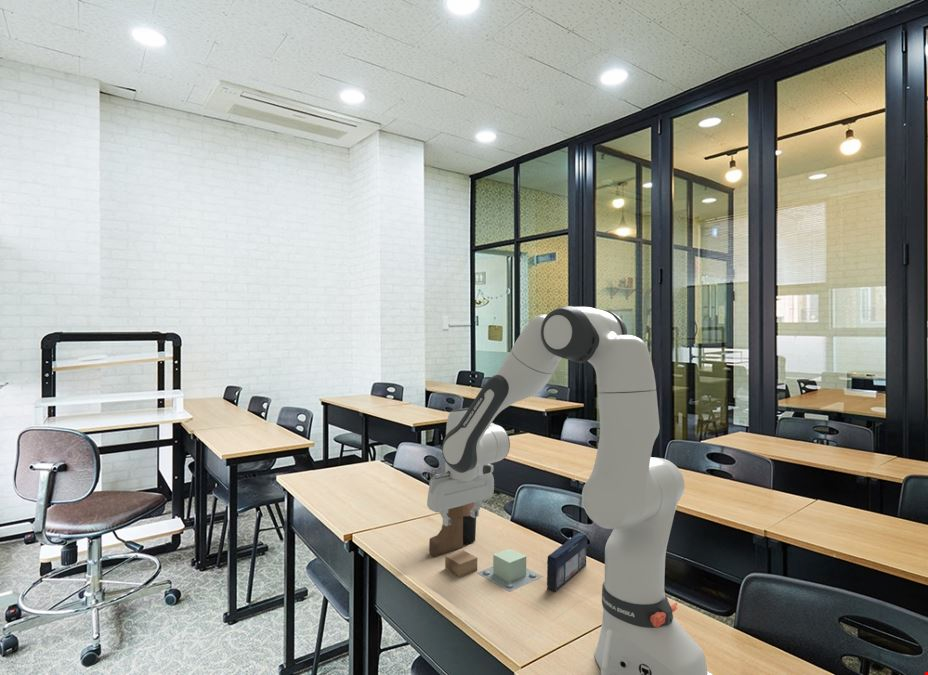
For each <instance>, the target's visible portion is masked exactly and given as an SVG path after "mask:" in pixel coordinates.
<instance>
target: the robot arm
mask: <svg viewBox="0 0 928 675" xmlns="http://www.w3.org/2000/svg"><path fill="white" fill-rule="evenodd" d="M562 359H564V360H568V361H572V362H576V363H578V364H579V363H580V364H585V363H586V362H588V363H589V364H591V366H592V368H594V371H595V374H596V375H595V376H596V384H597V385H596V386H597V398H598V411H599V413H598V415H599V439H598V445H597V452H596V457H595V460H594V464H593V469H592V471H591V473H590V475H589V477H588V478H587V480H586V482H585V484H584V486H582V492H581V499H582V500H581V501H582V505H583V508H584V511H585V513H586V514H587V516H588V518H589V519H590V520H591V521H592V522H593V523H594V524H596V525H597V526H599V527H601V528H602V529H607V530H612V532H611V534H610V536H609V537H608V538H607V541H606V544H605V548H604V581H603V583H602V585H601V586H602V587H601V589H602V590H601V604H602V608H603V612H602V620H601V621H602V622H601V627H600V634H599V638H598V642H597V645H596V647H595V651H594V658H595V662H596V663H597V665H598V667H599V669H600V675H713V673H711V672H709V671H708V666H707V661H706V656H705V653H704V651H703V649H702V648H701V646H700V645H699V644H698V643H697V642H696V641H695V640H694V638H692V637H691V636H690V634H688V632H687V631H686V630H685V629H684V627H683V626H682V625H681V624H680V623H679V622H678V621H677V620H676V619H675V617H674V614H673V613H674V612H675V611H677V609H678V607H677V606H678V602H675V603H673V604H672V605H670V602H669V600H668V597H667V594H666V591H665V574H666V573H665V572H666V570H665V568H666V553H667V546H668V543H669V538H670V534H671V531H672V526H673V522H674V517H675V513H676V510H677V506H678V504H679V502H680V500H681V499H682V496H683V495H684V492H685V479H684V476H683V474H682V473H681V471H680V468H679V467H678V466H677V465H676V464H674V463H673V462H672V461H670V460H668V459H665V458H661V457H655V456H654V457H652V452H653V446H654V444H655V441H656V439H657V438H658V437H659V436H658V435H659V434H660V428H661V427H660V416H659V415H660V414H659V406H658V405H659V404H658V395H657V393H658V392H657V385H656V384H657V383H656V378H655V377H656V376H655V372H654V367H653V362H652V358H651V354H650V352H649V347H648V346H647V343H646V342H645V341H644V340H643V339H641V338H640V337H637V336H634V335H631V334H628V329H627V326H626V324H625V321H623V319H622V318H621V317H620V316H618V315H617V314H616V313H614V312H612V311H610V310H606V309H605V310H604V309H598V308H594V307H590V306H573V305H565V306H562V307H557V308H556V309H553V310H552V311H550V312H548V314H544V313H543V314H538V315H536V316H534V317H532V318H531V320H530V321H529V322H528V323H527V324H526V326H525V327H524V328H523V330H522V331H521V332H520V335H519V336H518V337H517V339H516V341H515V342H514V344H513V346H512V347H511V350H510V351H509V353H508V355H507V356H506V358H505V360H504V361H503V362H502V364H501V365H500V367H499V368H498V369H497V371H496V372H495V373H494V374H493V375H492V376H491V377H490V378H489V380H487V382H486V383H485V384H484V385H483V387H482V388H481V389H480V390H479V391H478V394H477V395H476V396H475V398H474V400H473V401H472V403H471V404H470V406H469V407H464V408H463V407H462V408H455V409H452V410H451V411H450V412H449V413H448V416H447V419H446V426H445V427H446V429H445V437H444V439H443V441H442V447H441V448H442V449H441V450H442V451H441V452H442V457H443V459H444V461H445V466H444V472H441V473H436V474H434V475H433V476H432V477H431V479H429V483H428V484H429V486H428V492H427V498H426V499H427V500H426V505H427V508H428V509H429V510H430V511H432V512H434V513H439V515H440V516H441V518H442V524H443V525H444V526H449V525H451V518H449V517H448V516H447V514H446V513H448V509H451V508H455V507H459V506H462V505H466V504H470V503H473V502H474V503H475V504H474V507H473V509H472V510H471V514H470V515H471V517H473V518H475V517H476V518H478V517H479V515H480V514H479V513H480V510H481V508H482V505H483V501H485V500H488V499H491V498H492V497H493V495H494V492H495V491H494V490H495V479H494V475H493V472H494V465H493V464H494V463H498V462H500V461H502V460H504V459H506V458H507V456H508V455H509V452H510V447H511V446H510V445H511V441H510V437H509V434H508V432H507V431H506V429H505V428H504V427H503V426H501V425H499V424H495V423H494V422H493V421H494V420H495V418H496V417H497V416H498V415H499V414H500V413H501V412H502V411H503V410H505V409H506V408H508V407H510V406H511V405H513V404H516V403H518V402H520V401H522V400H525V399H529V398H530V397H533V396H536V395H537V394H538V393H540V392H542V389H544V388H545V387H546V385H547V384H548V383H549V382H550V380H551V378H552V376H553V375H554V373H555V371H556V369H557V368H558V366H559V364H560V362H561V361H562Z"/></svg>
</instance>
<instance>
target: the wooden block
mask: <svg viewBox="0 0 928 675" xmlns="http://www.w3.org/2000/svg"><path fill="white" fill-rule="evenodd" d="M446 514H447V516H448V517H449V518H451V525H449V526H444V525H443V523H442V524H441V525H442V526H441V529H440V530H439V531H438V533H437V535H434V536H432V537H430V538H429V543H428V544H429V545H428V548H429V549H428V550H429V551H428V553H429V555H431V556H432V557H433V558H437V557H440V556H444V555H446V554H449V553H450V554H451V553H454V552H455V551H459V550H461V549H463V548H464V546H463V545H464V544H463V505H462V506H459V507H455V508H451V509H448V513H446Z"/></svg>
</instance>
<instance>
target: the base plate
mask: <svg viewBox="0 0 928 675" xmlns="http://www.w3.org/2000/svg"><path fill="white" fill-rule="evenodd" d="M477 575H480V576H481V577H483V578H485V579H486V580H488V581H489V582H492V583H493V584H494V585H497V586H498V587H500V588H503V589H504V590H506V591H507V592H513V590H516V589H517V590H518V588H521V587H523V586H526V585H528V584H529V583H532V582H534V581H537V580H539V579H541V578H543V577H544V576H543V575H541V574H540V573H536V572H534V571H533V570H531V569H528V568H527V567H526V576H524V577H522V578H519V579H517V580H515V581H513V582H510V583H509V582H507V581H505V580H504V579H502V578H500V577H498V576H496V575H495V574H493V566H491V567H488V568H486V569H483V570H481V571H478V572H477Z"/></svg>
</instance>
